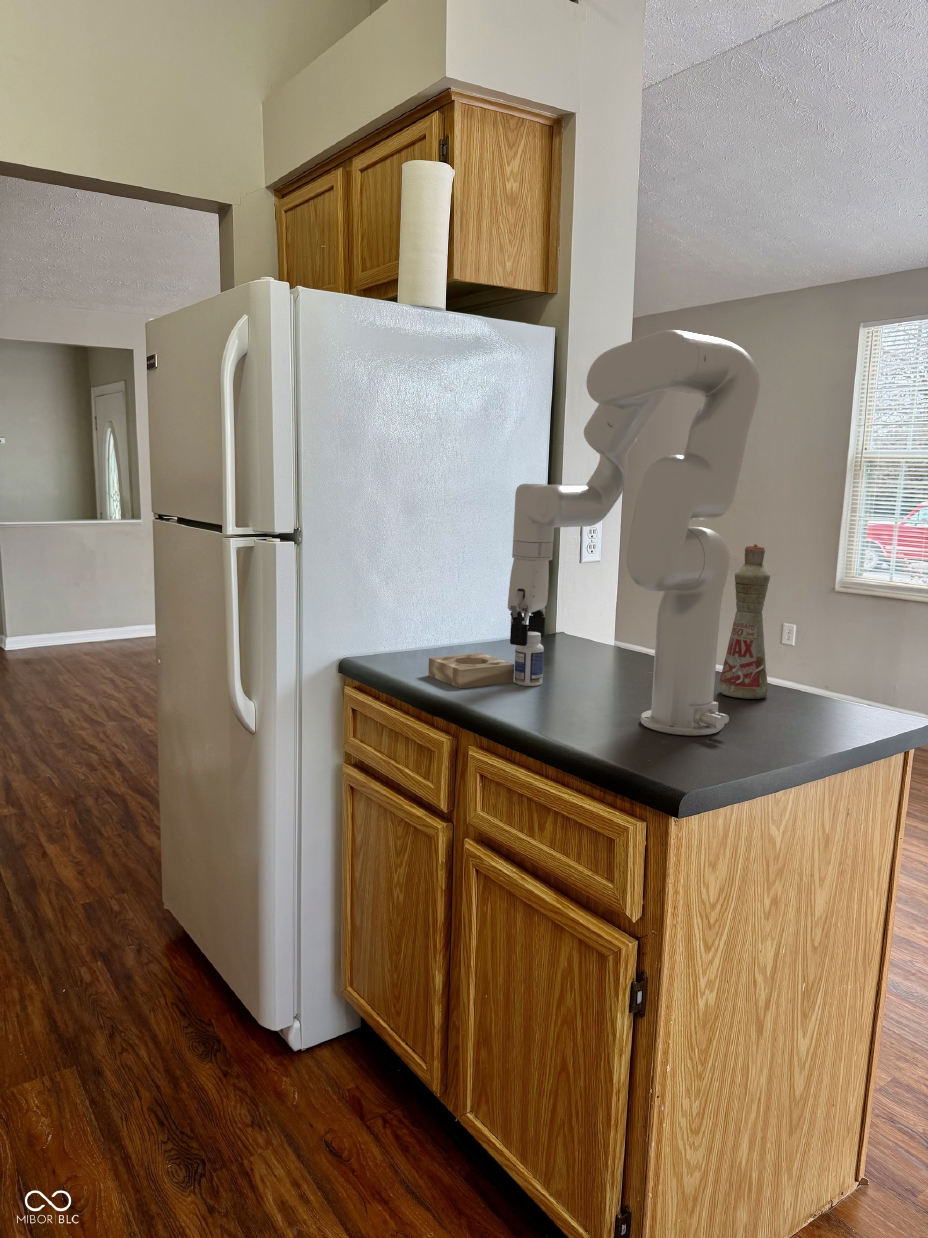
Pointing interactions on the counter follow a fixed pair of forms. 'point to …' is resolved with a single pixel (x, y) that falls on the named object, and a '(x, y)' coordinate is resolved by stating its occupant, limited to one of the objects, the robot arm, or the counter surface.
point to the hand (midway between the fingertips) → (527, 640)
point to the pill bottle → (529, 661)
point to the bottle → (747, 632)
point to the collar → (471, 670)
